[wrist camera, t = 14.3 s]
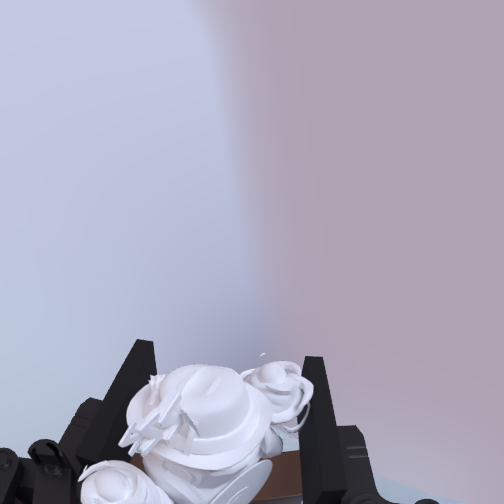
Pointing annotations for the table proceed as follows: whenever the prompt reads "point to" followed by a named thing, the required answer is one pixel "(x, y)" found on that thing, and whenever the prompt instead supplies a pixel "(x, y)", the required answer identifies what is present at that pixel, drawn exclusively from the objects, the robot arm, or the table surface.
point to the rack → (270, 479)
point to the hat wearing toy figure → (202, 436)
